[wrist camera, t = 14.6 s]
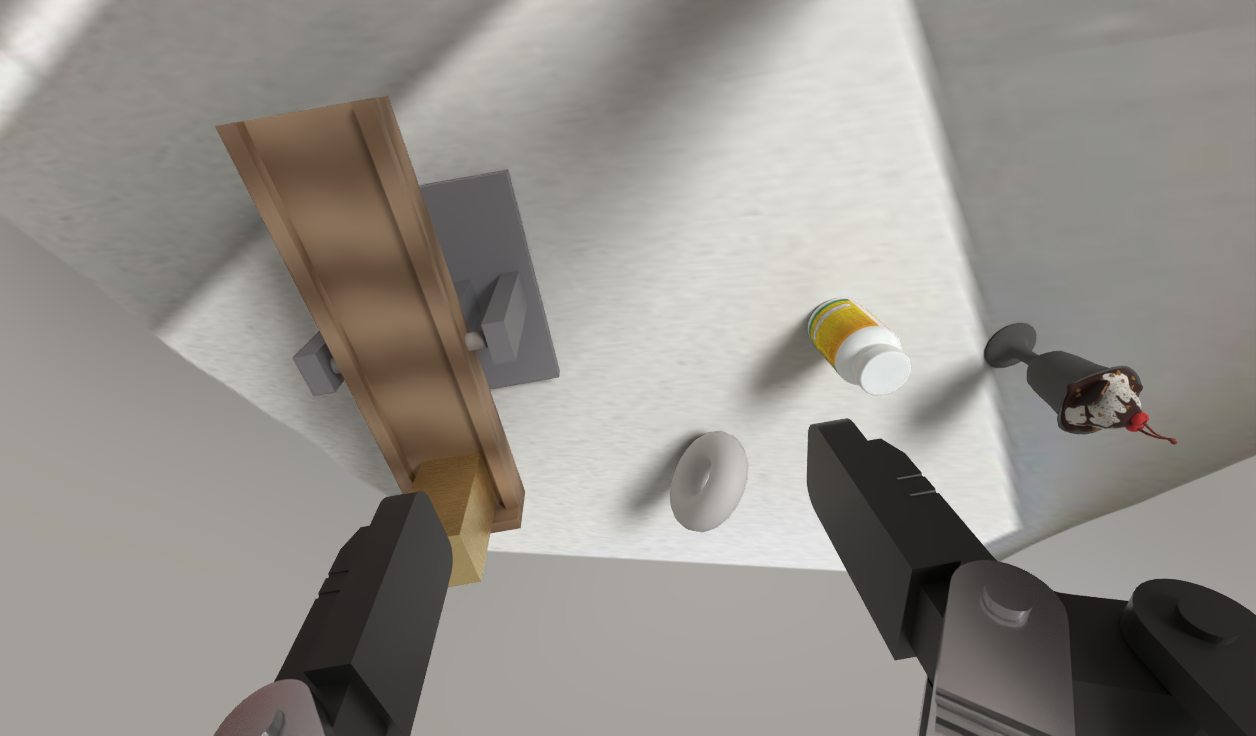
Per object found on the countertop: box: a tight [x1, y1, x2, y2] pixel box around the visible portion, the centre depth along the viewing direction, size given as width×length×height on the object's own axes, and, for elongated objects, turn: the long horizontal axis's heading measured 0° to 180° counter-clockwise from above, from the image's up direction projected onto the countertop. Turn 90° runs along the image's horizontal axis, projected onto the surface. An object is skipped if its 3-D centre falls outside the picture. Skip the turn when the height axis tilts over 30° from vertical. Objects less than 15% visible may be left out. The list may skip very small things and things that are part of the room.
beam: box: [215, 96, 525, 533], centre depth 34 cm, size 30×10×4 cm, turn 9°
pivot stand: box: [293, 170, 560, 396], centre depth 39 cm, size 18×16×11 cm
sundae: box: [986, 323, 1177, 444], centre depth 45 cm, size 7×7×15 cm
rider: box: [410, 452, 497, 587], centre depth 36 cm, size 4×4×8 cm
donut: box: [670, 431, 748, 532], centre depth 50 cm, size 10×4×10 cm, turn 148°
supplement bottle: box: [808, 297, 911, 395], centre depth 44 cm, size 5×5×10 cm
